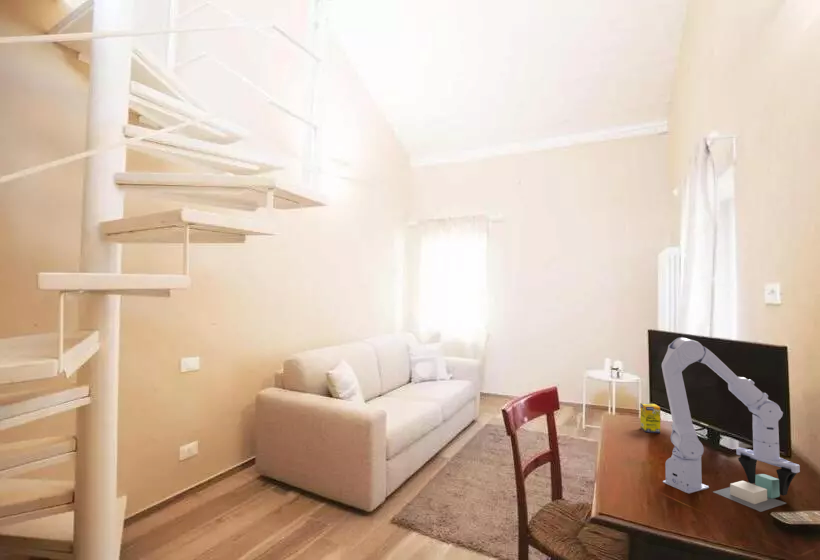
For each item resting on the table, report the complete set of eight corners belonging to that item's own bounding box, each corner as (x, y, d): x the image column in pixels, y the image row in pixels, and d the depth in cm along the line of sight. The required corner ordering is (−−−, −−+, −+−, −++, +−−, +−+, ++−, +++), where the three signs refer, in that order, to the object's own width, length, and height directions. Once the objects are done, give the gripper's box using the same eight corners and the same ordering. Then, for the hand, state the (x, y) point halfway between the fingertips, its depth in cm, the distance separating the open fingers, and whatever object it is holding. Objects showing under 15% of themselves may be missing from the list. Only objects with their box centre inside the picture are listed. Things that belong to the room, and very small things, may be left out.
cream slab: (754, 504, 113) (754, 493, 113) (730, 494, 119) (730, 483, 119) (767, 500, 115) (767, 489, 116) (743, 490, 121) (742, 480, 121)
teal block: (771, 498, 116) (771, 480, 117) (754, 492, 120) (755, 474, 120) (779, 497, 118) (780, 479, 118) (763, 491, 121) (763, 473, 122)
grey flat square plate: (760, 512, 109) (760, 511, 109) (712, 492, 120) (712, 491, 120) (786, 504, 114) (786, 503, 114) (737, 485, 125) (737, 484, 125)
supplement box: (645, 432, 174) (645, 406, 174) (640, 428, 180) (639, 402, 180) (661, 433, 173) (660, 407, 173) (655, 429, 179) (654, 403, 179)
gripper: (805, 447, 114) (807, 497, 114) (745, 431, 128) (747, 476, 127) (790, 450, 112) (792, 502, 111) (731, 434, 125) (732, 480, 124)
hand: (767, 488), depth 119 cm, fingers open, 7 cm apart
